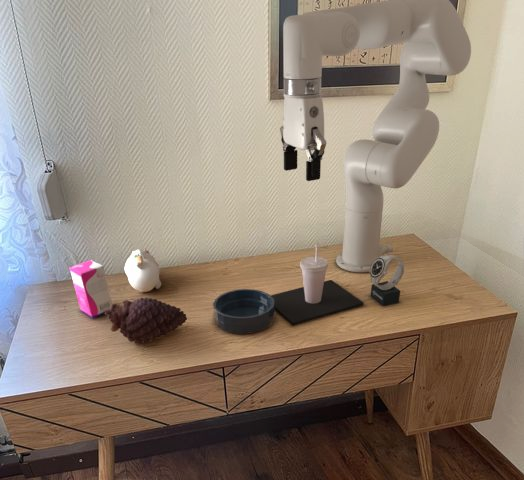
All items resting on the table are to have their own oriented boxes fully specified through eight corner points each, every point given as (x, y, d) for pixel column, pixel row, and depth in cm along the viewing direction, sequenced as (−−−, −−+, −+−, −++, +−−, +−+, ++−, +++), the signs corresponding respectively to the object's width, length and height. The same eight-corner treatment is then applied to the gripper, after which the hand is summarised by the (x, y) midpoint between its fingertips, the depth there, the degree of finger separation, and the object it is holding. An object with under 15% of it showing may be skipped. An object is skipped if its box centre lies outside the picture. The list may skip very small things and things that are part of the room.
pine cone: (176, 314, 122) (189, 288, 115) (185, 350, 118) (199, 326, 110) (98, 314, 114) (106, 286, 106) (105, 353, 109) (114, 327, 102)
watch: (363, 297, 126) (367, 255, 120) (392, 291, 129) (397, 249, 122) (375, 308, 122) (380, 264, 116) (405, 301, 124) (411, 257, 118)
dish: (258, 299, 127) (257, 284, 125) (285, 324, 117) (285, 308, 114) (205, 313, 122) (204, 297, 120) (229, 341, 112) (227, 324, 110)
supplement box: (101, 302, 128) (91, 258, 122) (114, 310, 125) (104, 265, 118) (79, 310, 125) (68, 266, 119) (92, 319, 121) (81, 274, 115)
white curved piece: (147, 262, 124) (137, 234, 135) (120, 282, 125) (112, 252, 136) (171, 287, 131) (159, 258, 142) (145, 306, 132) (136, 276, 143)
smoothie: (325, 307, 121) (327, 250, 114) (297, 305, 122) (298, 248, 115) (327, 294, 126) (330, 239, 119) (301, 292, 128) (302, 237, 120)
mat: (330, 282, 134) (331, 279, 133) (363, 305, 123) (363, 302, 123) (264, 300, 127) (264, 297, 126) (292, 326, 116) (292, 322, 116)
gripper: (342, 90, 100) (337, 181, 110) (297, 81, 113) (296, 163, 123) (308, 94, 97) (306, 187, 107) (266, 85, 111) (268, 168, 120)
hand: (301, 174), depth 115 cm, fingers open, 9 cm apart
